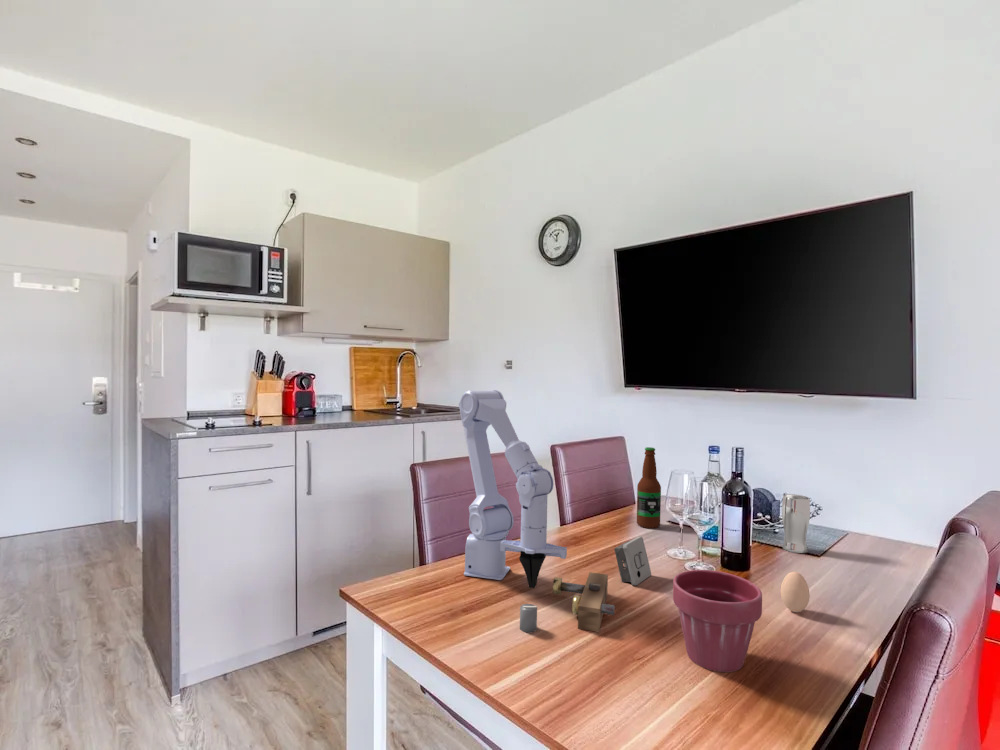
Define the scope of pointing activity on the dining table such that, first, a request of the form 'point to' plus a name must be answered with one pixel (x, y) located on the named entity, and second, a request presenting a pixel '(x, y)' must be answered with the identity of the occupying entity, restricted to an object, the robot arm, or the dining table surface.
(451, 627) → the dining table surface
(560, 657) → the dining table surface
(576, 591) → the far plunger
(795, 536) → the beer glass
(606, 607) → the near plunger
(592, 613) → the wooden board with knobs
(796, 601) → the egg
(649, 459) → the bottle
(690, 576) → the plant pot
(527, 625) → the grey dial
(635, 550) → the electrical switch
